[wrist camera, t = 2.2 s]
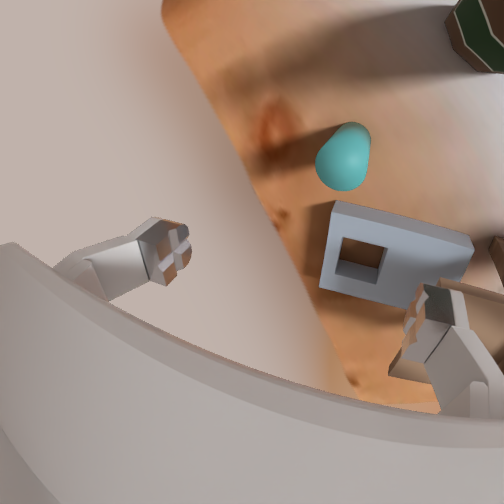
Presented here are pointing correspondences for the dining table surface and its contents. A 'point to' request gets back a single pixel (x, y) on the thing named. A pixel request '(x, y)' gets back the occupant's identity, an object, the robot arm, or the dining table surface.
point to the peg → (344, 157)
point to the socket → (391, 255)
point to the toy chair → (469, 320)
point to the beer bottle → (478, 33)
